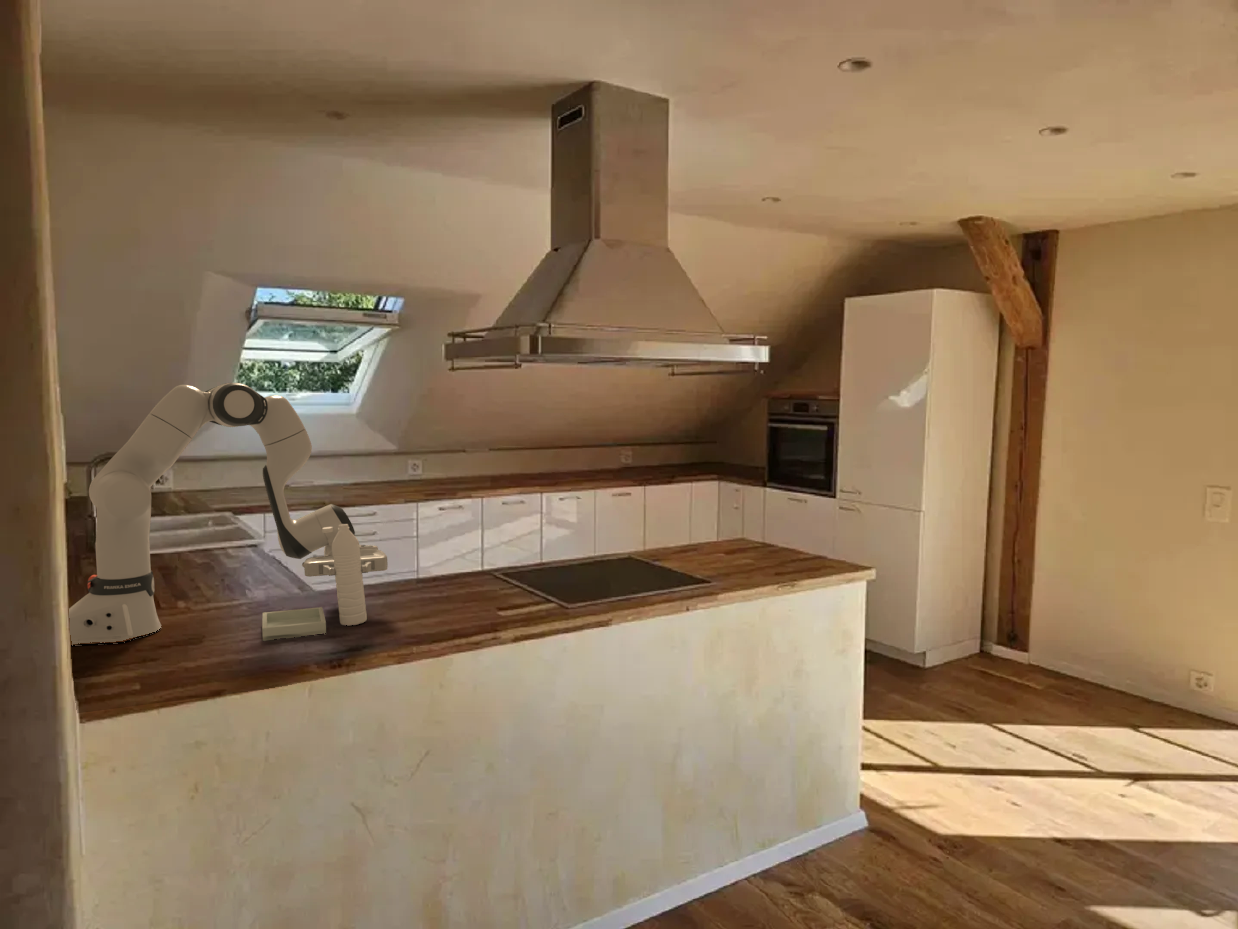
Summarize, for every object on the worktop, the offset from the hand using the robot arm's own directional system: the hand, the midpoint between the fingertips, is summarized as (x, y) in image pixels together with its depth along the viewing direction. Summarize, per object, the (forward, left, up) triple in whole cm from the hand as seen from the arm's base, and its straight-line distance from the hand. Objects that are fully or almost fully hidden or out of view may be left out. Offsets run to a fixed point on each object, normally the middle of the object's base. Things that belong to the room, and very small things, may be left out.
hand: (348, 571), depth 208 cm
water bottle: (0, +1, -14) cm, 14 cm away
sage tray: (-13, +1, -14) cm, 19 cm away
